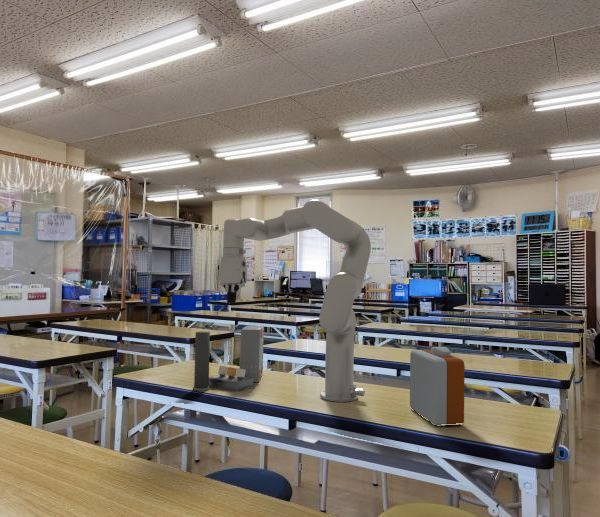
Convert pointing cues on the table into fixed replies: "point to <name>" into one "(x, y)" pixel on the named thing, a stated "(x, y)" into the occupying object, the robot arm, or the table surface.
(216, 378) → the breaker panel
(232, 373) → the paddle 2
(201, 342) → the dark grey tall block
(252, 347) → the hard drive box
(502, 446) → the table surface
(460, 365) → the grey and brown block
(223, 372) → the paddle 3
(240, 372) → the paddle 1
